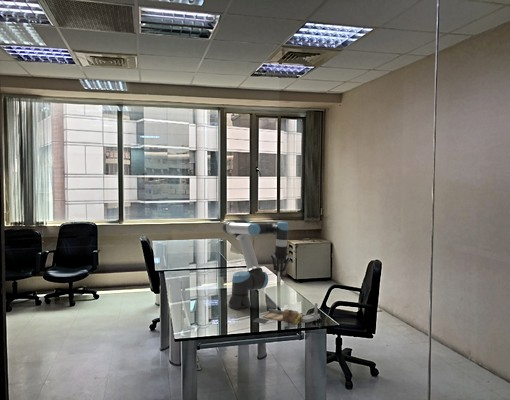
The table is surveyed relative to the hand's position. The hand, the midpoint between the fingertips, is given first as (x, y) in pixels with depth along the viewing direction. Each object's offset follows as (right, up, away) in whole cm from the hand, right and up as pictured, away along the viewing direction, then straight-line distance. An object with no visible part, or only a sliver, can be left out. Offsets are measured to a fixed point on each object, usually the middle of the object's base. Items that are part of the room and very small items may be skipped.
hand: (278, 281), depth 263 cm
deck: (+1, -22, -8) cm, 24 cm away
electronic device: (+20, -24, -6) cm, 31 cm away
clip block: (+6, -22, -12) cm, 26 cm away
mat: (-12, -22, -15) cm, 29 cm away
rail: (+2, -22, -8) cm, 24 cm away
